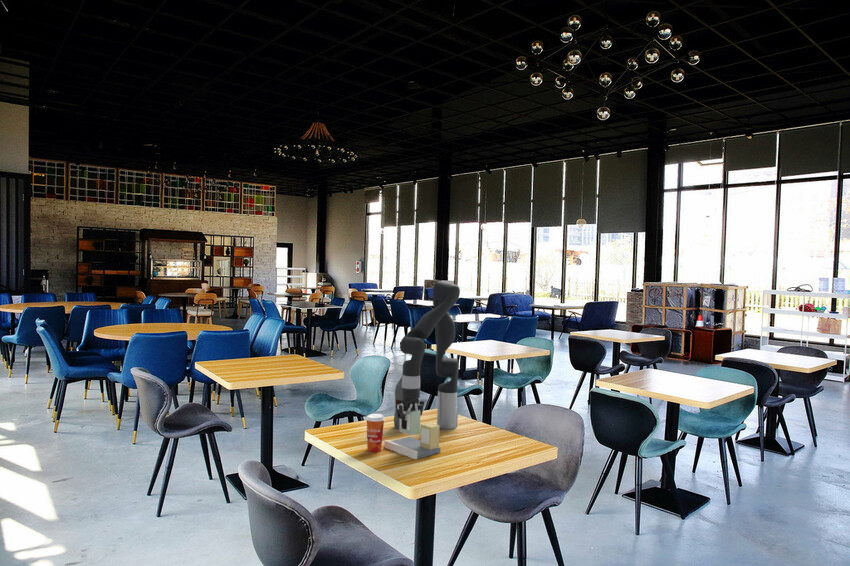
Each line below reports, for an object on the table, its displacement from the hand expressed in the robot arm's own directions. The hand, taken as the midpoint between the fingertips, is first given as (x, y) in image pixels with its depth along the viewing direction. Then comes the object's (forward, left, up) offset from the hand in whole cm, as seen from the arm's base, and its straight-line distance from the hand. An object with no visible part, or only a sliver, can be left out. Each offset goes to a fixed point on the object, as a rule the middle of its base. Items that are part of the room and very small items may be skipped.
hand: (409, 427), depth 220 cm
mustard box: (-7, +5, -8) cm, 11 cm away
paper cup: (+10, -10, -10) cm, 17 cm away
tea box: (0, 0, -2) cm, 2 cm away
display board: (-3, -1, -10) cm, 10 cm away
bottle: (-22, -27, -10) cm, 36 cm away
